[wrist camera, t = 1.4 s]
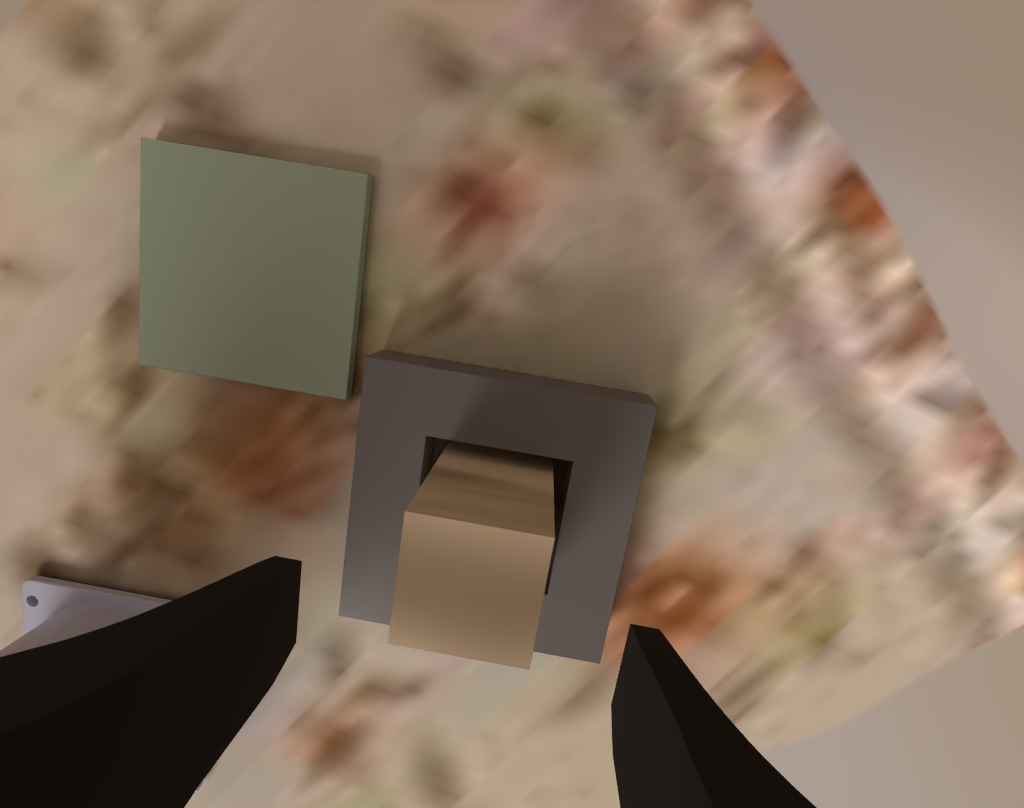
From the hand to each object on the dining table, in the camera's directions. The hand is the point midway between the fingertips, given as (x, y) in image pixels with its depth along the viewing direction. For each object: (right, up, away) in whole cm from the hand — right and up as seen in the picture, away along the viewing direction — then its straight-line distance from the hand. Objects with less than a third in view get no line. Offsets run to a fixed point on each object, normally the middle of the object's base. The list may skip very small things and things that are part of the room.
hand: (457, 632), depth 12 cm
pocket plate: (0, +1, +10) cm, 10 cm away
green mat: (-8, +10, +9) cm, 15 cm away
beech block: (0, +1, +10) cm, 10 cm away
